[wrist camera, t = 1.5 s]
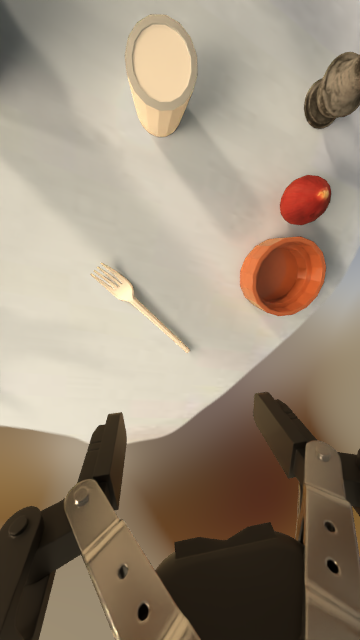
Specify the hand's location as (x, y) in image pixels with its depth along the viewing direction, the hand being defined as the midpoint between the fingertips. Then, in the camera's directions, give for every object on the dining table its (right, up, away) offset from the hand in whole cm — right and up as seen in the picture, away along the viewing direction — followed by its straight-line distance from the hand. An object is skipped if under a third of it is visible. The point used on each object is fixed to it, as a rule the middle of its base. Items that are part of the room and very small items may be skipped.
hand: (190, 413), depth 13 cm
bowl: (+14, +13, +23) cm, 30 cm away
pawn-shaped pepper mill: (+18, +35, +16) cm, 42 cm away
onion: (+16, +23, +20) cm, 34 cm away
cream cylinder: (-3, +32, +14) cm, 35 cm away
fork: (-6, +7, +22) cm, 24 cm away
